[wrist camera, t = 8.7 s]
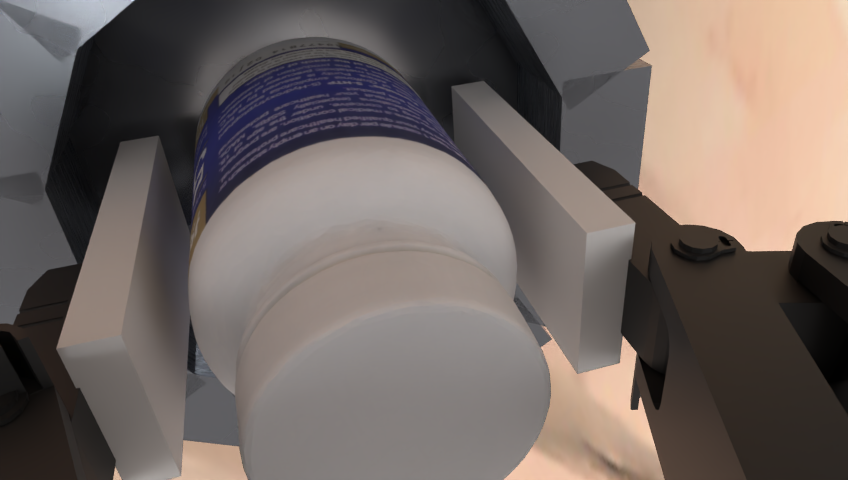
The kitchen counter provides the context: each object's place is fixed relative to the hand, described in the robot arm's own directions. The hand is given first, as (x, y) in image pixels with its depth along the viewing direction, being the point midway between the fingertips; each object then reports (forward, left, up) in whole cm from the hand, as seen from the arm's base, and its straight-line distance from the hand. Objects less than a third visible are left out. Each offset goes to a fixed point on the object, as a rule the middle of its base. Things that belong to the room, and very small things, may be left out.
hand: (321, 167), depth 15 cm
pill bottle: (0, 0, -1) cm, 1 cm away
